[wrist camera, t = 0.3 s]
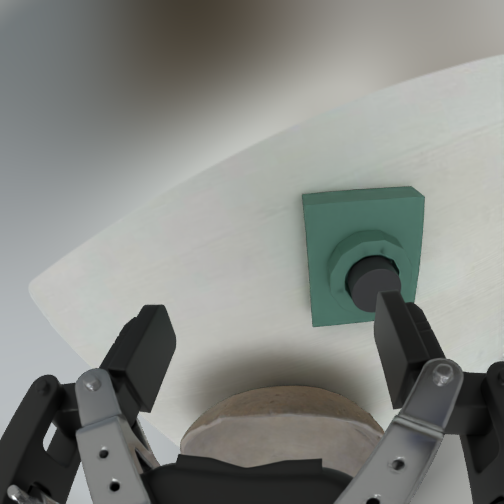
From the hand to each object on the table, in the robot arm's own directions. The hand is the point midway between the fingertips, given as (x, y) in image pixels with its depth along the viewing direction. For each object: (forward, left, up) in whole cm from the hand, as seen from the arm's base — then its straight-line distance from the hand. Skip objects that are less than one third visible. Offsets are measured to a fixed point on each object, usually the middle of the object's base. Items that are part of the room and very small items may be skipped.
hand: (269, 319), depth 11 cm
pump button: (+6, +7, -12) cm, 15 cm away
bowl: (+30, -2, -17) cm, 35 cm away
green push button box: (+6, +7, -17) cm, 19 cm away
